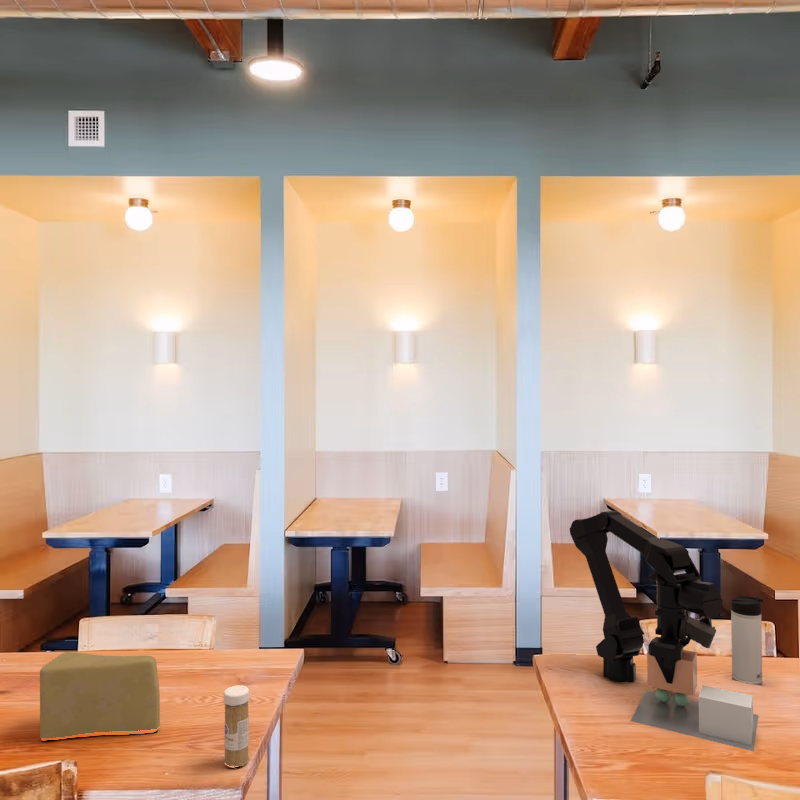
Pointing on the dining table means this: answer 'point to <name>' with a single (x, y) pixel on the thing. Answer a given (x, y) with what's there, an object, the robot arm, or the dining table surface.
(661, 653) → the robot arm
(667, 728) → the slate board
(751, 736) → the light grey rectangular block
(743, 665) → the travel mug
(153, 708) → the cheese
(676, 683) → the tan block
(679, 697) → the marble
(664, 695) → the marble
